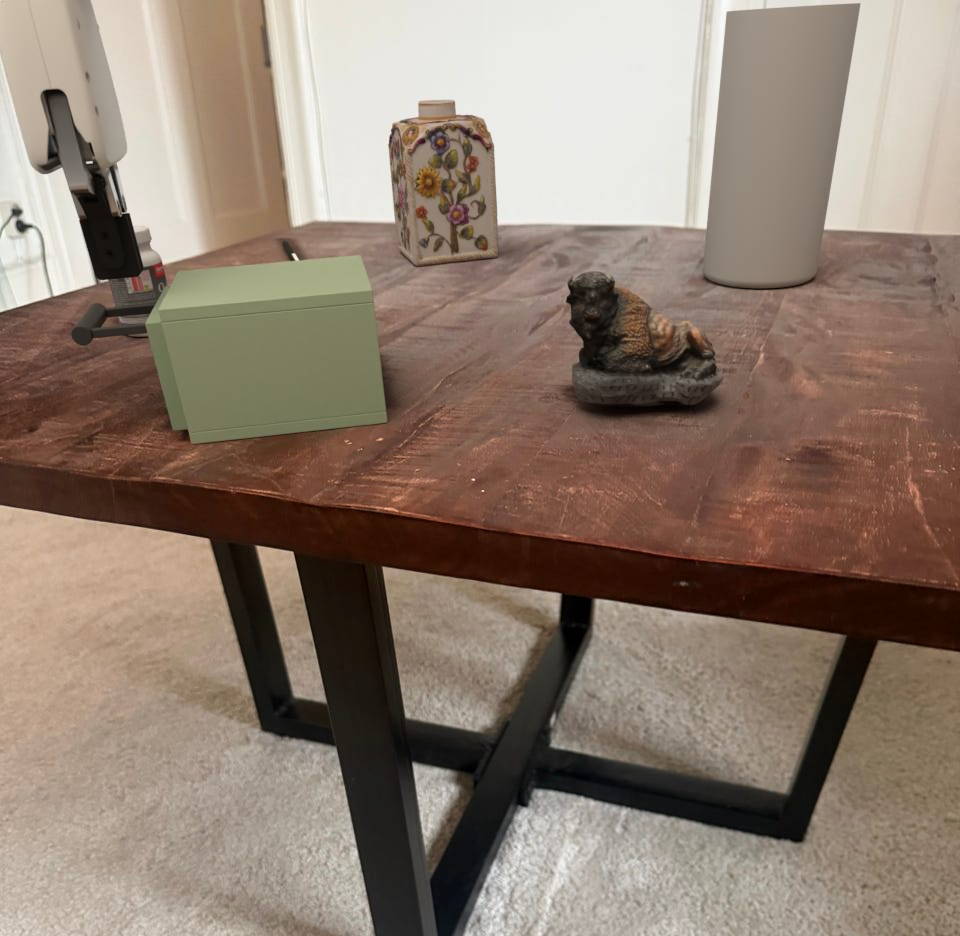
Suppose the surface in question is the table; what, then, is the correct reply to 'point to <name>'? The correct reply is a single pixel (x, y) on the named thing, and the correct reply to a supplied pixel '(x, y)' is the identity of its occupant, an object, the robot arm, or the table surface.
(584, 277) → the bison figurine
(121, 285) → the pill bottle
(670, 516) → the table surface
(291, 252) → the pen
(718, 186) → the cylinder vase
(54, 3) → the robot arm
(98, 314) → the pull-out drawer
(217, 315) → the sage green drawer box
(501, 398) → the table surface
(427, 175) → the decorative jar
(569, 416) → the table surface
